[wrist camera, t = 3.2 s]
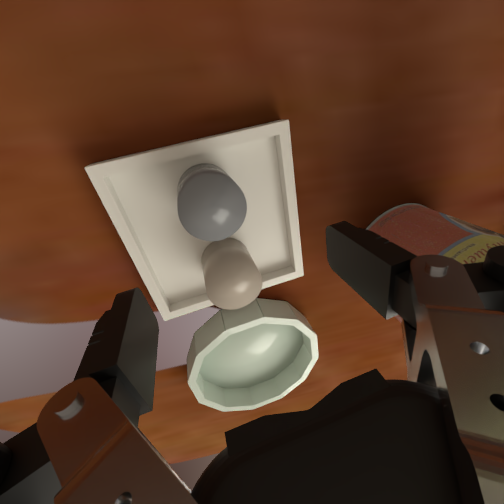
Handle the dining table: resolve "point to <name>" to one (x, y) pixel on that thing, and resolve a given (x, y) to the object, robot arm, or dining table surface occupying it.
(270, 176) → the tray
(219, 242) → the grey-brown stone
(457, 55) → the dining table surface
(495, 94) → the dining table surface
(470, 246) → the canned food
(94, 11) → the dining table surface
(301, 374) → the bowl
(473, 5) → the dining table surface
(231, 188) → the grey river pebble
